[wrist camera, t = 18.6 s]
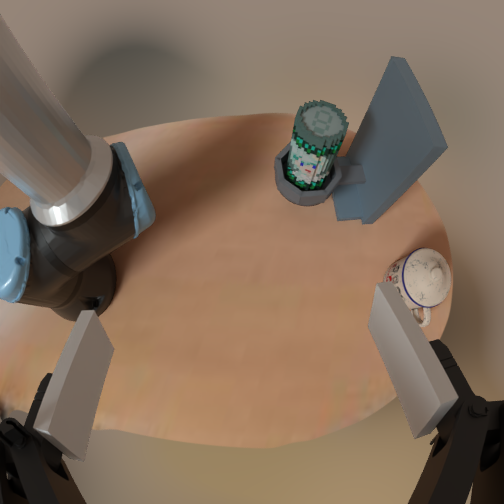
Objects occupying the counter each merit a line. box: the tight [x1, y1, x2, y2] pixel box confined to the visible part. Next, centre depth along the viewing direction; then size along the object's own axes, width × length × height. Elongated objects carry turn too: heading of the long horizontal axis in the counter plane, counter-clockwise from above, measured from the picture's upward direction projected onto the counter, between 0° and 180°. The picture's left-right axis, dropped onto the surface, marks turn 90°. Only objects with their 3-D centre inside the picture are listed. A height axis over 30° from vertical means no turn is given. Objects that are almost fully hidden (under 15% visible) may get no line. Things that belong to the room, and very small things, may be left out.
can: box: [285, 100, 349, 192], centre depth 40 cm, size 6×6×15 cm
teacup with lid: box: [383, 248, 451, 327], centre depth 43 cm, size 12×9×12 cm
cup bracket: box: [274, 56, 448, 224], centre depth 41 cm, size 17×14×26 cm
